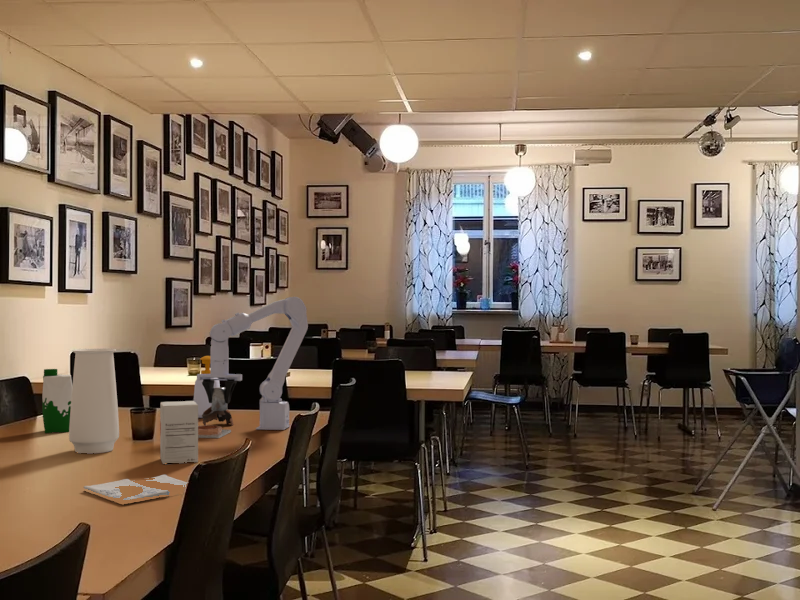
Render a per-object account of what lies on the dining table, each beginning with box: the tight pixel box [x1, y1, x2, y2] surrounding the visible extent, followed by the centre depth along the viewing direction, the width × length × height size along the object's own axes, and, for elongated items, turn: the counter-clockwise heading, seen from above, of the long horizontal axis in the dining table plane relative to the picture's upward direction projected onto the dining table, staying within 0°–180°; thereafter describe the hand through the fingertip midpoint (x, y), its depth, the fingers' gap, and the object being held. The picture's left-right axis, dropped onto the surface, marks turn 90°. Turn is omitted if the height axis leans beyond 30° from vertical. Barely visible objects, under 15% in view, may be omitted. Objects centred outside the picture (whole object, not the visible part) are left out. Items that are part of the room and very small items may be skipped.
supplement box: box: [159, 400, 199, 465], centre depth 208 cm, size 9×9×15 cm
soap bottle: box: [193, 355, 221, 419], centre depth 295 cm, size 10×14×22 cm
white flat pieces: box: [83, 474, 188, 500], centre depth 173 cm, size 19×20×2 cm
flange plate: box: [198, 424, 232, 439], centre depth 250 cm, size 12×12×2 cm
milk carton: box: [41, 368, 73, 434], centre depth 259 cm, size 9×9×20 cm
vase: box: [68, 348, 120, 455], centre depth 223 cm, size 13×13×28 cm
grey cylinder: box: [211, 386, 228, 411], centre depth 259 cm, size 5×5×7 cm
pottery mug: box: [202, 407, 234, 427], centre depth 271 cm, size 12×9×8 cm
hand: (219, 402), depth 259 cm, fingers closed on grey cylinder, 5 cm apart
